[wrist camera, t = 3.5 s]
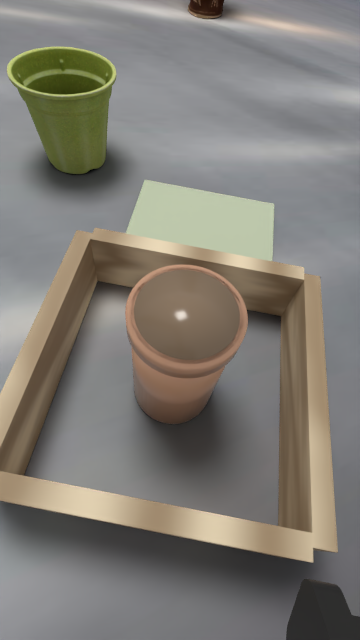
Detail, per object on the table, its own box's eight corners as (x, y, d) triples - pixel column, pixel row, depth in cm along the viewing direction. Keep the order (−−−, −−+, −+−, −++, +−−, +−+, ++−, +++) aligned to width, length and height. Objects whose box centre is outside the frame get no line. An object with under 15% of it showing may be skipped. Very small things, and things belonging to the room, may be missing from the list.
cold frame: (-7, 499, 21) (-46, 491, 16) (88, 267, 30) (79, 224, 26) (298, 560, 20) (338, 567, 16) (294, 307, 30) (319, 270, 26)
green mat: (120, 249, 32) (120, 247, 32) (144, 182, 37) (144, 179, 37) (270, 278, 32) (271, 275, 31) (273, 206, 37) (274, 203, 37)
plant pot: (45, 129, 41) (24, 39, 33) (126, 139, 41) (122, 52, 34) (22, 179, 36) (-10, 87, 28) (114, 190, 36) (106, 102, 29)
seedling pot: (121, 417, 24) (110, 353, 15) (141, 342, 27) (141, 254, 18) (207, 434, 24) (243, 379, 15) (217, 357, 27) (251, 275, 18)
